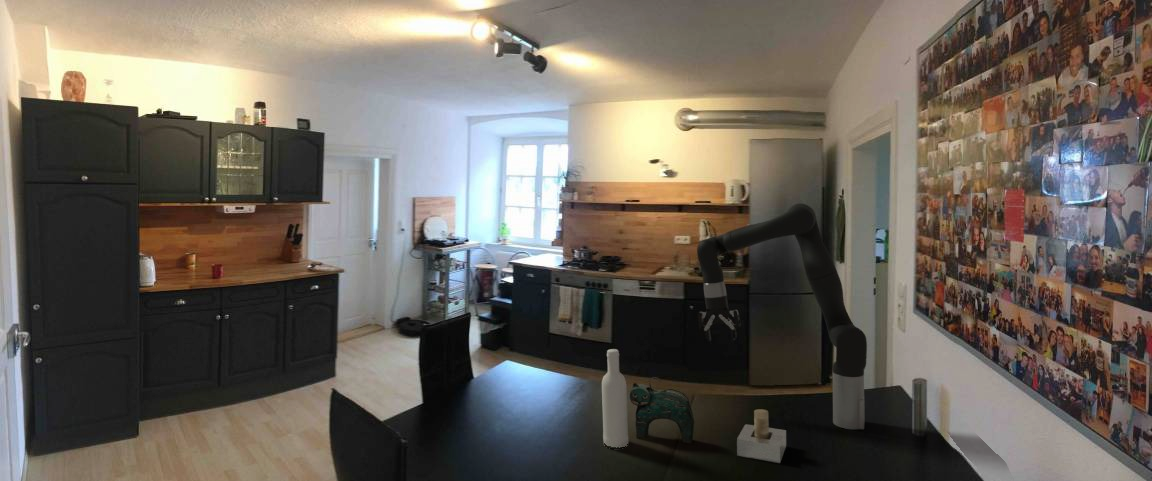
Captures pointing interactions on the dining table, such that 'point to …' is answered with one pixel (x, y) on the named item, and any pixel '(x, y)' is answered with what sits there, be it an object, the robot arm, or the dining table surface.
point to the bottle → (614, 403)
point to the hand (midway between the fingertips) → (721, 340)
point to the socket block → (761, 444)
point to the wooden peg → (761, 424)
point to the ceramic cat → (661, 409)
